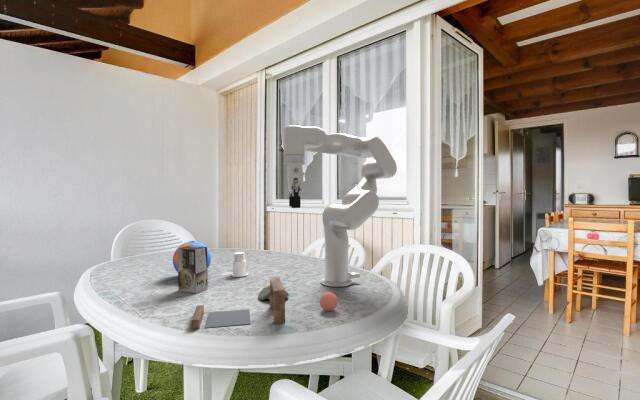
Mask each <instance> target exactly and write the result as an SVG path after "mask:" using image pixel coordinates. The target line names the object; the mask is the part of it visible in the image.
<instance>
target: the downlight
mask: <svg viewBox="0 0 640 400" xmlns="http://www.w3.org/2000/svg"><path fill="white" fill-rule="evenodd" d="M245 258H246V257H245V251H243V252H241V251H239V252H238V251H237V252H234V253H233V260H232V274H231V276H232V277H234V278H239V277H240V278H241V277H246V276H249V273H248V272H247V270H248V264H247V260H246V259H245Z"/></svg>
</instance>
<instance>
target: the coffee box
mask: <svg viewBox="0 0 640 400" xmlns="http://www.w3.org/2000/svg"><path fill="white" fill-rule="evenodd" d="M177 248H178V247H177ZM207 248H208V246H206V247H201V246H185V247H182V248H178V272H177V276H178V277H177V281H178V284H177V285H178V292H186V293H192V294H198V293H201V292H204V291H207V290H208V289H209V286H208V285H209V281H208V280H209V279H208V278H209V277H208V276H209V275H208V274H209V273H208V269H209V267H208V268H207Z"/></svg>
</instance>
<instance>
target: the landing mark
mask: <svg viewBox="0 0 640 400" xmlns="http://www.w3.org/2000/svg"><path fill="white" fill-rule="evenodd" d="M250 314H251V313H250V309H249V308H248V309H233V310H221V311H220V310H219V311H209V312H208V316H207V319H206V323H205V327H204V328H205V329H211V328H221V327H224V328H225V327H236V326H246V325H247V326H249V325H251V315H250Z"/></svg>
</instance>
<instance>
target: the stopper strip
mask: <svg viewBox="0 0 640 400" xmlns="http://www.w3.org/2000/svg"><path fill="white" fill-rule="evenodd" d="M204 314H205V304H202V305H201V304H200V305H196V306H195V309H194V312H193V315H192V318H191V320H190V321H191V325H190V326H191V330H198V329H200V327H201V324H202V320H203V318H204Z"/></svg>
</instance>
